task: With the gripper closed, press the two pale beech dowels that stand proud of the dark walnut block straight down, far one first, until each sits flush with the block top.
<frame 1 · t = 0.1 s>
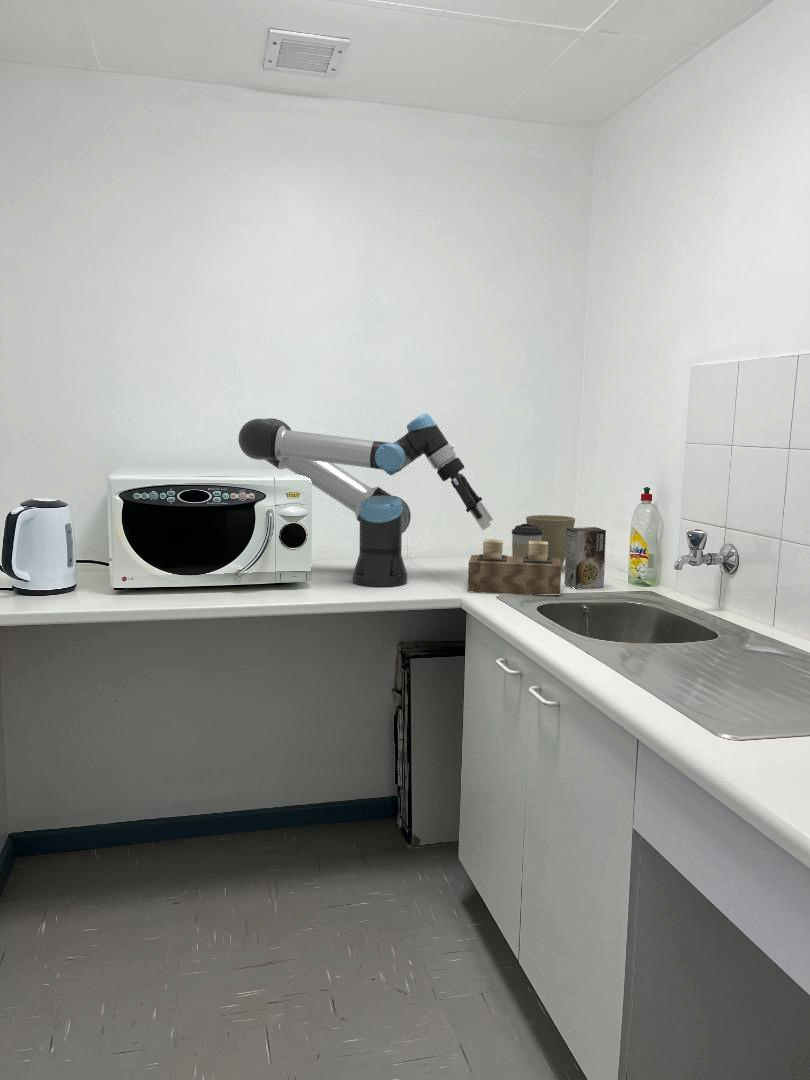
hand: (488, 524, 236), 15 cm above the table, tool tilted 35°, fingers open, 13 cm apart
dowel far: (537, 554, 220), point 10 cm above the table, slide at 5.0 cm
plant pot: (548, 569, 255), on the table
dowel near: (492, 552, 222), point 10 cm above the table, slide at 5.0 cm
walnut block: (513, 589, 222), on the table
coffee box: (583, 586, 228), on the table
coffee cup: (525, 576, 242), on the table
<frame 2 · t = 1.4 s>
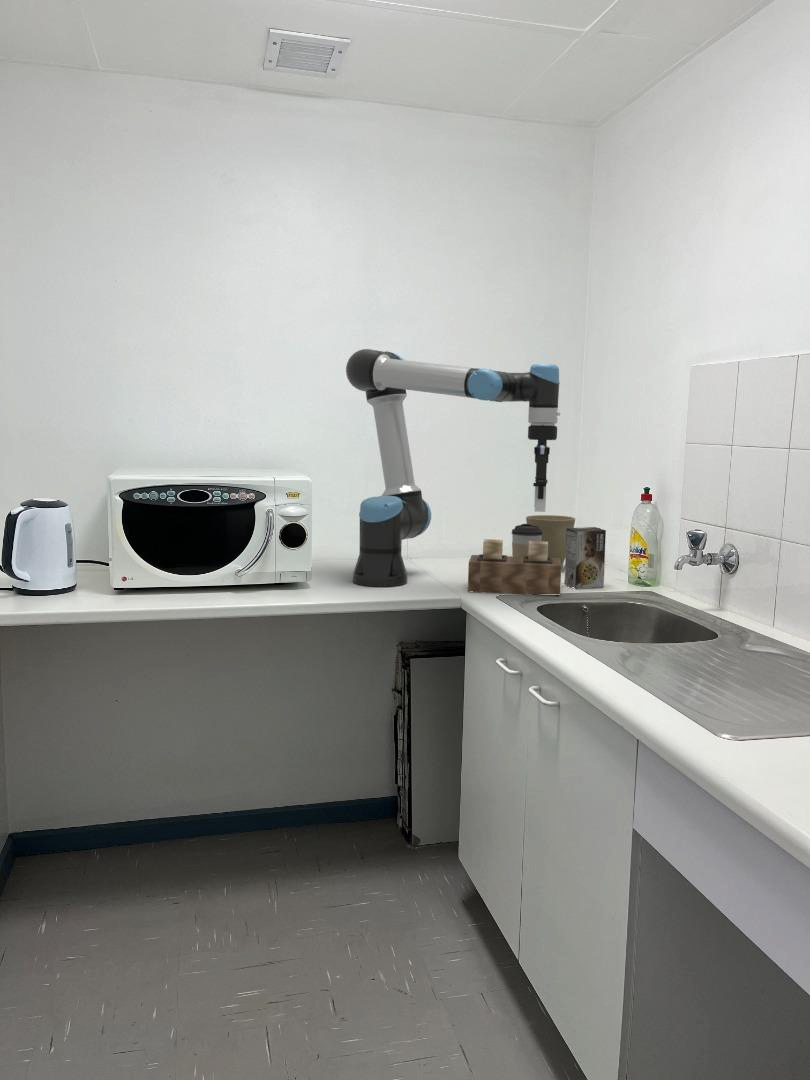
hand: (539, 509, 218), 22 cm above the table, tool pointing down, fingers open, 10 cm apart
nothing on the table moved.
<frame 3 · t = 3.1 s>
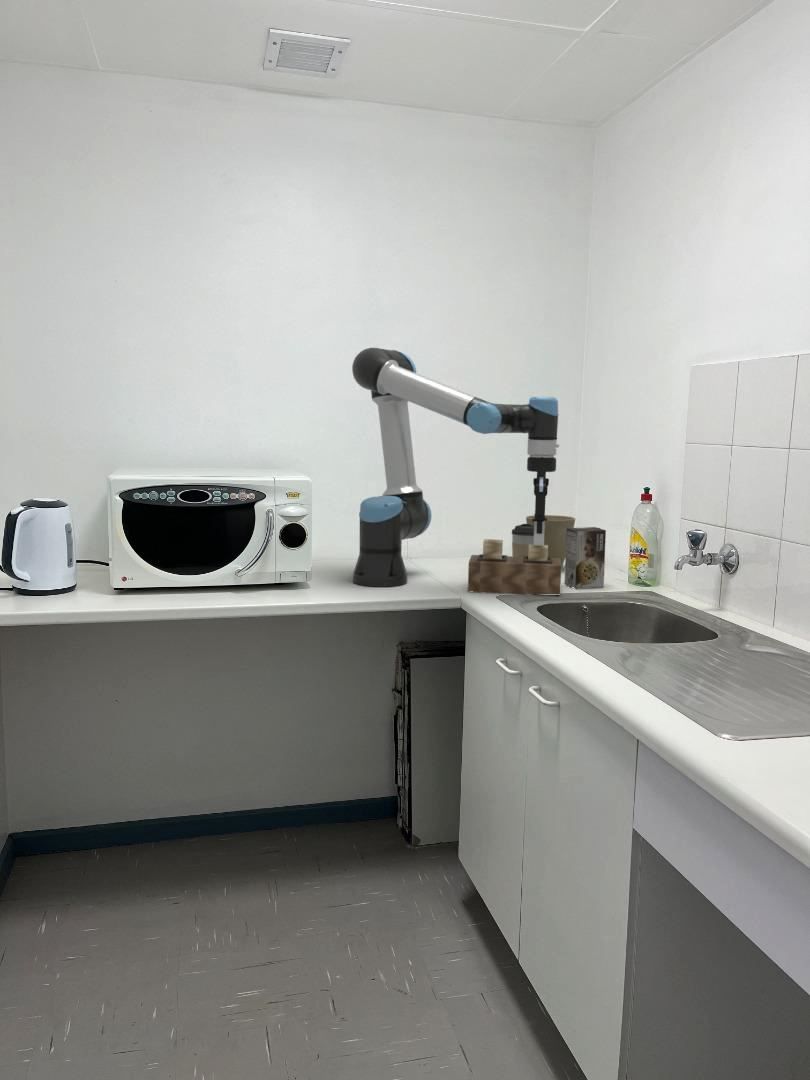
hand: (538, 545, 220), 12 cm above the table, tool pointing down, fingers closed
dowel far: (537, 558, 220), point 9 cm above the table, slide at 4.0 cm, touching gripper
everything else where it was.
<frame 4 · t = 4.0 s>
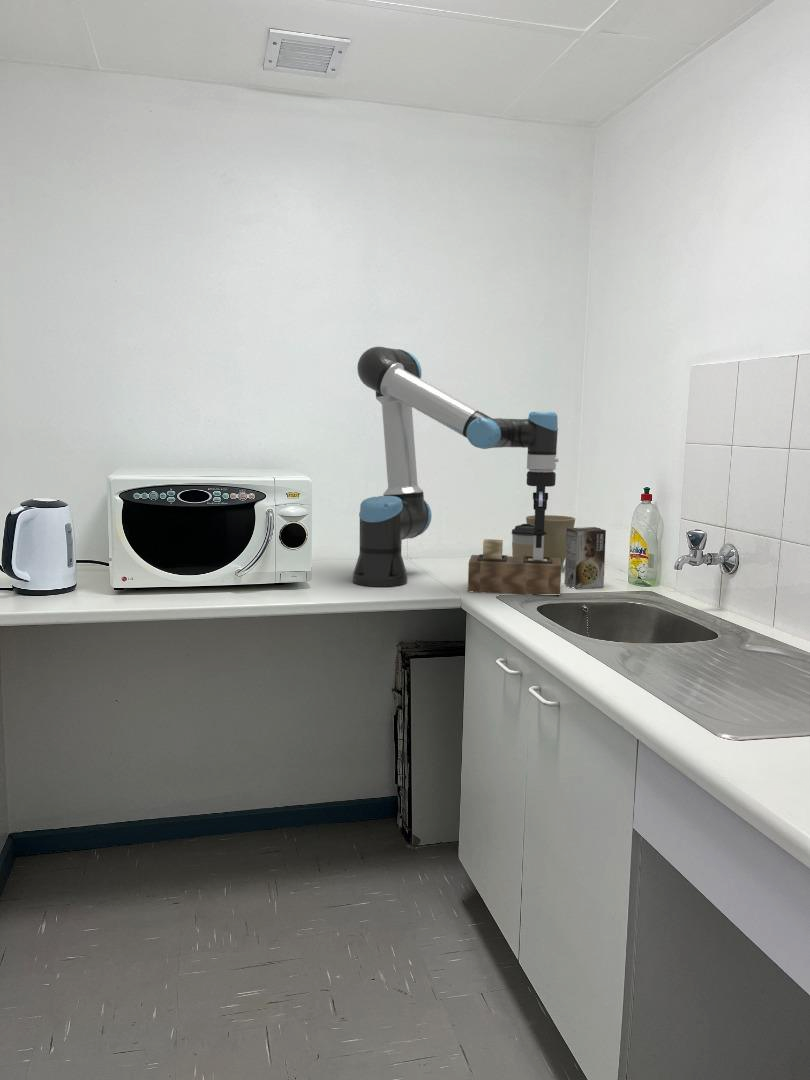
hand: (537, 559, 220), 8 cm above the table, tool pointing down, fingers closed
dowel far: (537, 572, 221), point 5 cm above the table, slide at 0.2 cm, touching gripper
everything else where it was.
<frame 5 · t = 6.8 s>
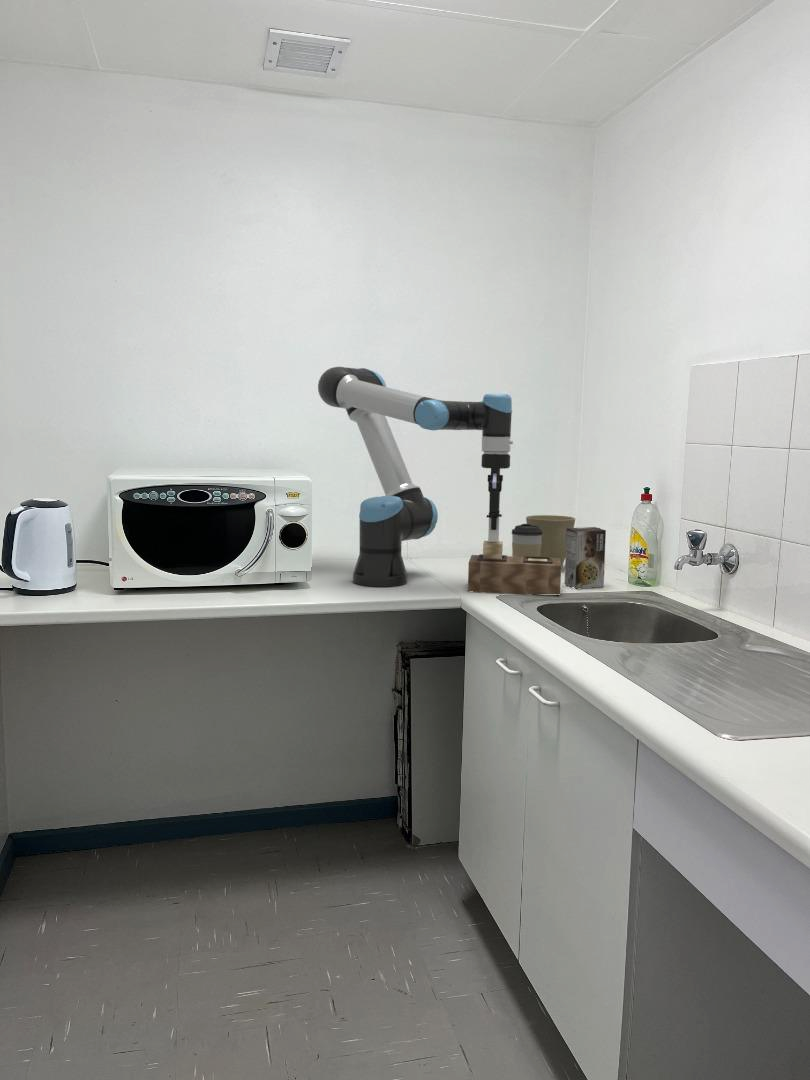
hand: (493, 541, 221), 13 cm above the table, tool pointing down, fingers closed
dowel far: (537, 572, 221), point 5 cm above the table, slide at 0.2 cm
dowel near: (492, 554, 222), point 9 cm above the table, slide at 4.6 cm, touching gripper
everything else where it was.
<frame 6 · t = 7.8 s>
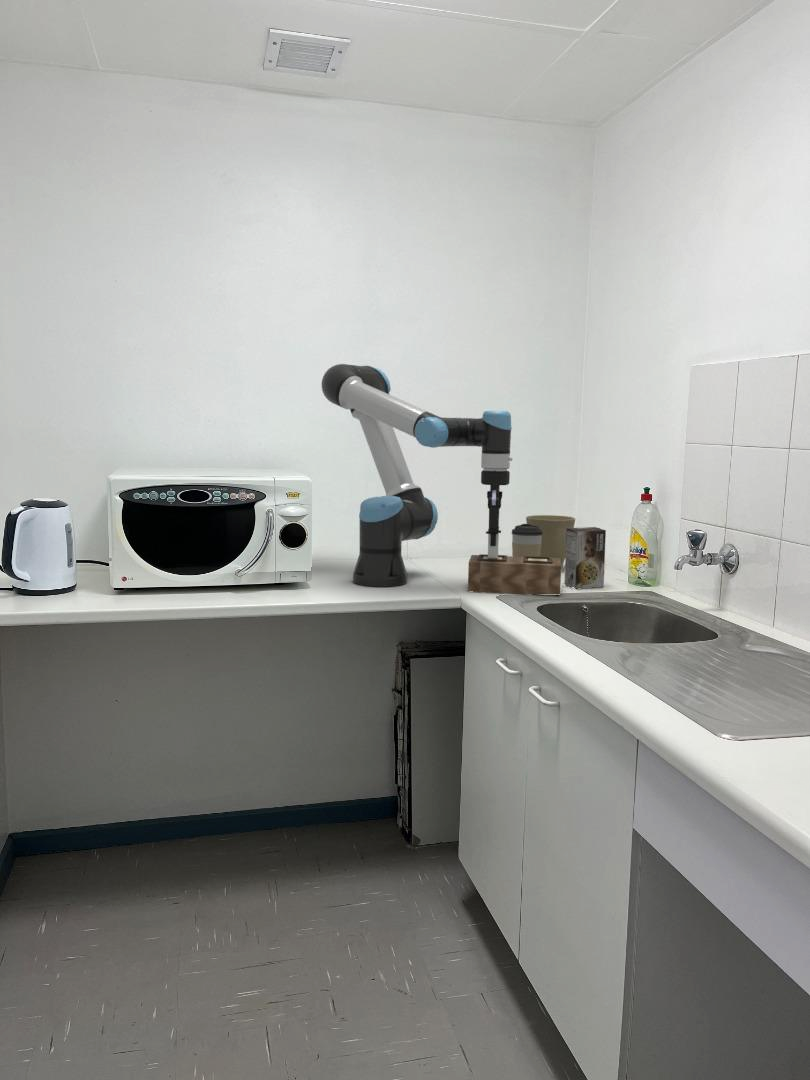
hand: (492, 557, 222), 8 cm above the table, tool pointing down, fingers closed
dowel near: (492, 570, 222), point 5 cm above the table, slide at 0.2 cm, touching gripper
everything else where it was.
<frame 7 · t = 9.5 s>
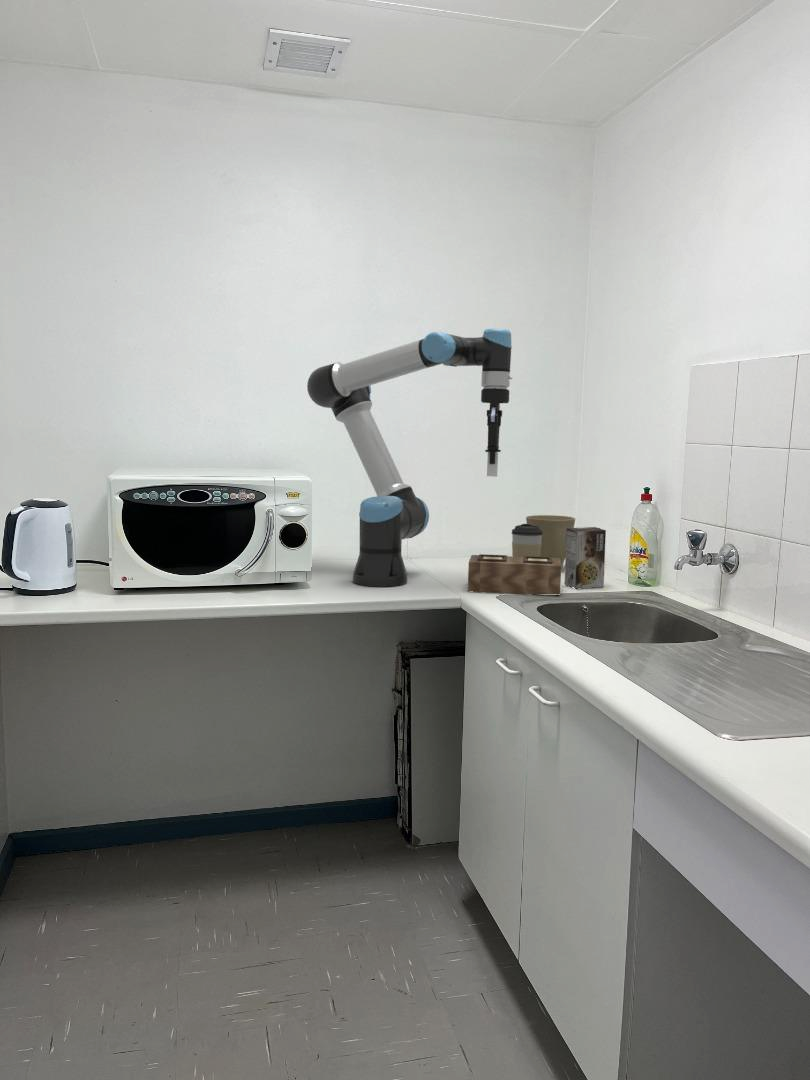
hand: (492, 476, 225), 30 cm above the table, tool pointing down, fingers closed
dowel near: (492, 570, 222), point 5 cm above the table, slide at 0.2 cm
everything else where it was.
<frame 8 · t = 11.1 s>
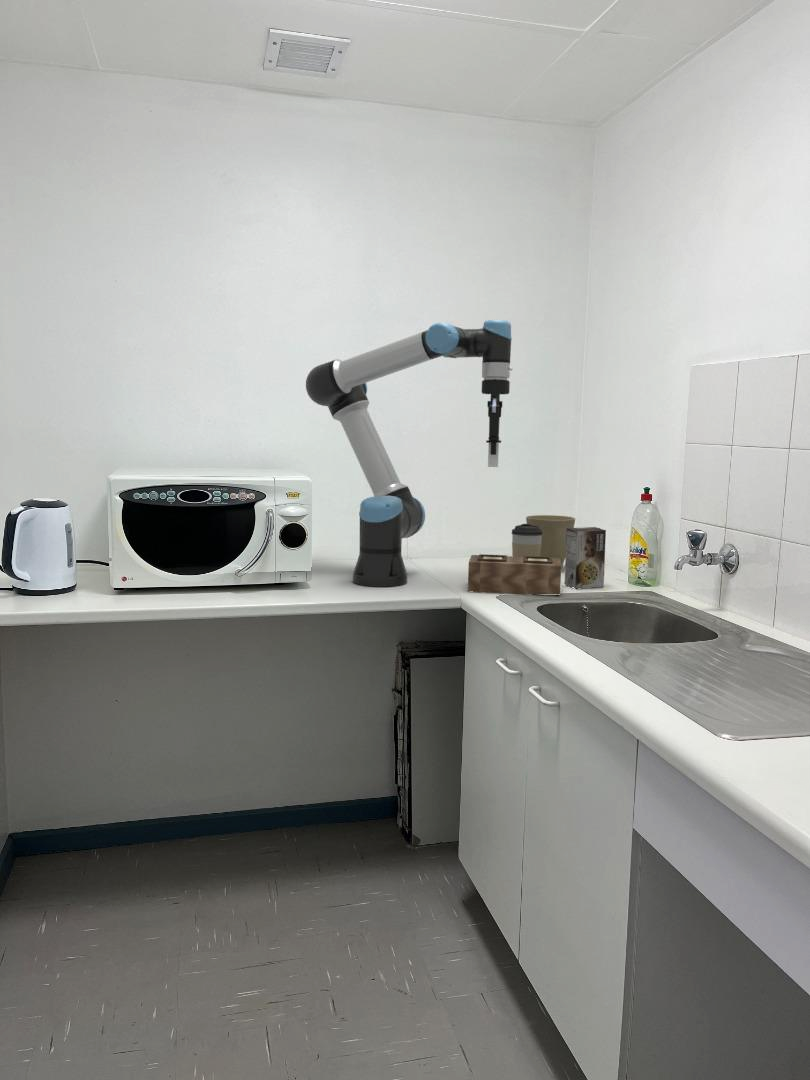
hand: (493, 466, 226), 32 cm above the table, tool pointing down, fingers closed
nothing on the table moved.
at the end: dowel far slide at 0.2 cm; dowel near slide at 0.2 cm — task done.
